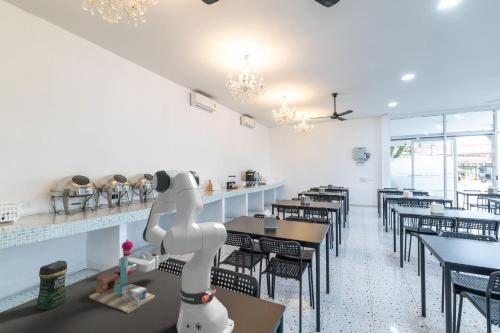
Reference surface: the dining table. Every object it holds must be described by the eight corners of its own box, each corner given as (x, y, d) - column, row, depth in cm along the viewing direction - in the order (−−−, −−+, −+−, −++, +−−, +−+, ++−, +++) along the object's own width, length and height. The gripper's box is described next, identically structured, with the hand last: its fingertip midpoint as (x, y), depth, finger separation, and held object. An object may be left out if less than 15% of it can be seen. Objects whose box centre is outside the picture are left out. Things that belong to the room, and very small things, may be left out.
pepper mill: (135, 270, 141) (136, 237, 142) (128, 275, 134) (129, 240, 135) (124, 269, 142) (125, 237, 143) (116, 274, 135) (118, 240, 136)
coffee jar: (47, 312, 98) (49, 267, 98) (32, 310, 99) (34, 266, 100) (69, 300, 107) (71, 259, 108) (55, 298, 109) (57, 258, 109)
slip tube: (143, 296, 106) (144, 260, 106) (137, 299, 103) (138, 262, 104) (119, 288, 113) (120, 254, 114) (113, 291, 110) (114, 256, 111)
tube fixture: (154, 297, 110) (155, 280, 110) (128, 313, 97) (128, 293, 98) (116, 285, 122) (117, 269, 123) (88, 297, 110) (89, 280, 110)
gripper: (133, 250, 126) (108, 258, 114) (160, 256, 117) (137, 265, 105) (133, 262, 126) (108, 271, 114) (160, 268, 117) (136, 279, 105)
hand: (122, 268), depth 109 cm, fingers closed on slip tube, 3 cm apart
